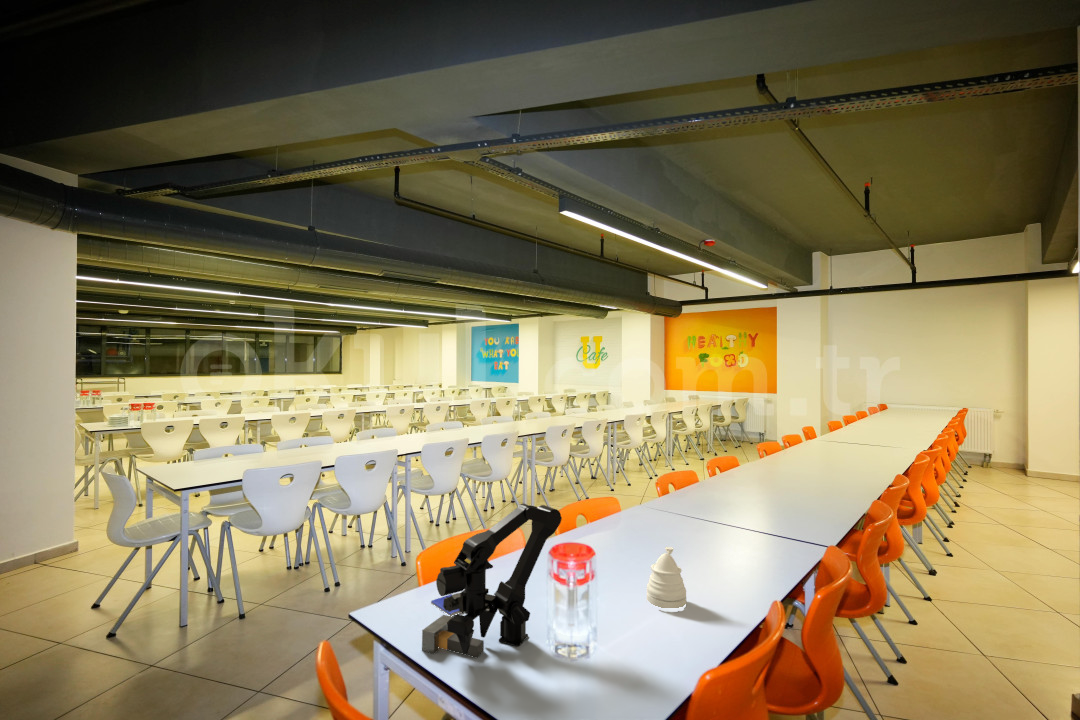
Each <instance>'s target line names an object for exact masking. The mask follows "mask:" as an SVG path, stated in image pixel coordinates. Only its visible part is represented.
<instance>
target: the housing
mask: <svg viewBox="0 0 1080 720" xmlns="http://www.w3.org/2000/svg"><path fill="white" fill-rule="evenodd" d="M453 617H454V616H452V617H451V616H448V615H447V614H442V615H441V616H439V617H438V618H436V620H434V621H433V622H431V623H430V624H429V625H427V626H425V628H423V629H422V630H421V631H422V633H421V651H422V652H425V651H426V653H429V652H430V654H432V653H433V655H435V654H436V653H437V652H438V651H439V648H438V645H439V633H440V632H441V631H443V630H444V631H447V622H448V621H449V620H450V619H451V618H453ZM448 632H449V631H448ZM434 653H435V654H434Z"/></svg>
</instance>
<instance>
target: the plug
mask: <svg viewBox="0 0 1080 720" xmlns="http://www.w3.org/2000/svg"><path fill="white" fill-rule="evenodd" d="M484 641H485V640H484V639H479V638H476V637H472V640H471V643H470V646H469V650H468V653H467V654H466V655H465V656H467V655H470V656H469V657H471V656H473V657H472V658H475V657H477V658H479V657H480V656H481V655H482V654H483V653H484V651H485V649H484V647H485V645H484V643H485V642H484ZM438 647H439V648H438V649H442V648H443V649H442V650H445V649H447V651H449V650H451V651H450V652H453V651H455V652H454V653H456V652H459V653H458V654H460V653H463V651H462V648H461V645H460V642H459V639H458V637H457V635H456V634H455V633H452V632H448V631H444V630H443V631H441V632H440V633H439V645H438ZM462 655H464V653H463V654H462ZM479 655H480V656H479ZM478 656H479V657H478Z"/></svg>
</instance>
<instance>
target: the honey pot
mask: <svg viewBox="0 0 1080 720" xmlns="http://www.w3.org/2000/svg"><path fill="white" fill-rule="evenodd" d="M665 551H666V552H665V553H662V554H661V555H659V558H658V559H657V560H656V562H655V563H653V564H652V565H650V569H651V571H652V572H651V573H650V575H649V579H648V583H647V584H646V601H647V600H648V601H649V602H650V603H651V604H653V605H655V606H658V607H661V608H679V607H683V606H684V605H685V604H686V605H687V589H686V587H685V583H684V578H683V577H682V575H681V573H682V571H683V570H682V568H681V567H680V566H678V565H677V563H676V560H675V559H674V558H673V556H672V555H671V554H672V553H673V551H674V548H673V547H672V546H666V547H665Z"/></svg>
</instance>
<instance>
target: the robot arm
mask: <svg viewBox="0 0 1080 720" xmlns="http://www.w3.org/2000/svg"><path fill="white" fill-rule="evenodd" d="M562 520H563V519H562V514H561V512H560V510H558V509H557V508H553V507H551V506H548V505H545V504H541V505H539V506H537V505H536V506H535V505H531V504H527V503H519V504H518V505H517V507H516V508H515V509H514V510H512V511H511V512H510V513H508V514H507V515H506V516H504V517H503V518H501V520H499V521H498V522H497V523H495V524H494V525H493V526H491V527H490V528H489V529H488V530H485V531H483V532H479V533H476V534H474V535H472V536H471V537H469V538H467V539H466V540H465V541H463V543H462V548H461V549H460V551H459V553H458V554H457V556H456V558H455V560H454V561H453V564H454V565H453V566H448V567H447V566H445V567H441V568H440V572H439V573H438V574H437V578H436V581H435V583H436V589H437V592H438V595H439V596H440V597H444V596H448V595H451V594H452V596H450V597H446V598H445V599H444V603H443V607H444V609H445V610H446V611H447V610H448V612H451V611H452V610H457V609H459V612H463V613H464V614H465V615H462V614H457V615H455V616H452V617H453V618H451V619H450V620H449V621H448V622H447V631H449V632H452V633H455V634H456V635H457V637H458V639H459V642H460V645H461V648H462V651H463V653H464V654H467V653H468V650H469V646H470V643H471V640H472V638H473V637H474V636H473V635H474V633H475V629H474V627H475V621H474V620H476V619H477V618H478V617H479V618H478V619H479V632H480V637H481V638H485V637H486V635H487V633H488V631H489V629H490V627H491V624H492V622H493V620H494V618H495V616H496V614H497V612H499V614H500V615H502V616H501V621H500V622H499V626H500V627H499V630H500V631H499V636H500V637H499V638H498V642H500V643H503V644H508V645H511V646H516V647H519V646H521V645H522V644H523V643H524V642H525V640H526V639H527V638H528V637H529V634H528V633H526V632H527V631H526V629H527V623H526V622H528V621H529V620H530V616H531V612H530V611H529V610H528V609H527V608H526V607H525V606H524V603H525V600H526V585H527V584H528V581H529V579H530V577H531V575H532V572H533V571H534V568H535V566H536V564H537V561H538V559H539V557H540V555H541V552H542V550H543V548H544V546H545V543H546V541H547V540H548V539H549V538H550V537H552V535H554V534H555V533H556V531H557V530H558V529H559V526H560V525H561V523H562ZM528 521H531V533H530V535H529V537H528V539H527V541H526V544H525V546H524V548H523V549H522V552H521V554H520V556H519V558H518V561H517V563H516V564H515V567H514V570H513V571H512V574H511V576H510V578H509V579H507V580H506V581H505V582H504V581H500V582H499V584H498V587H497V589H496V591H495V592H494V593H493V594H489V588H487V587H486V584H487V581H486V580H487V577H486V575H487V574H486V572H487V570H489V569H492V568H494V565H493V564H491V562H489V559H490V557H492V555H493V554H494V553H495V551H496V548H497V546H498V545H499V544H501V543H502V542H503V541H504V540H506V539H507V538H508V537H510V536H511V535H512V534H513V533H514V532H516V531H517V530H518V529H520V528H521V527H522V526H523V525H524V524H526V523H527V522H528ZM467 560H469V561H470V562H468V561H467ZM464 654H463V655H464Z"/></svg>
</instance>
